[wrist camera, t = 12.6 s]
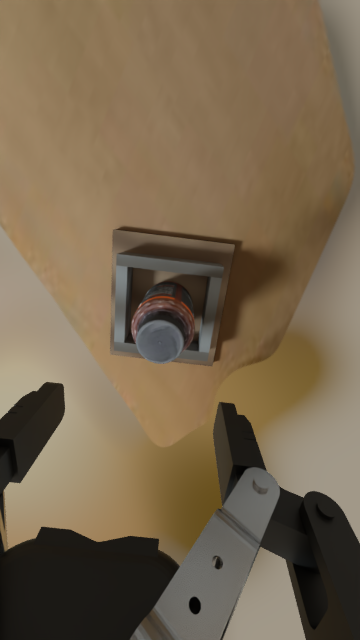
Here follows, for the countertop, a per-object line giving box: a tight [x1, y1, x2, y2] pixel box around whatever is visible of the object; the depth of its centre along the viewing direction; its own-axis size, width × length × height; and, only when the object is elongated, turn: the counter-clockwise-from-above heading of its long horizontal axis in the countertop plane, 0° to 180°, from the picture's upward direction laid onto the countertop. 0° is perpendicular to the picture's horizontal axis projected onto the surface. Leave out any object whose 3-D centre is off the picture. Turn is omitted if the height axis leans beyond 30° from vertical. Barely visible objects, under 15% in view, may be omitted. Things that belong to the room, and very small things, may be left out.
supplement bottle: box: [131, 281, 195, 364], centre depth 25 cm, size 6×6×11 cm
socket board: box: [110, 230, 235, 366], centre depth 29 cm, size 16×14×4 cm
